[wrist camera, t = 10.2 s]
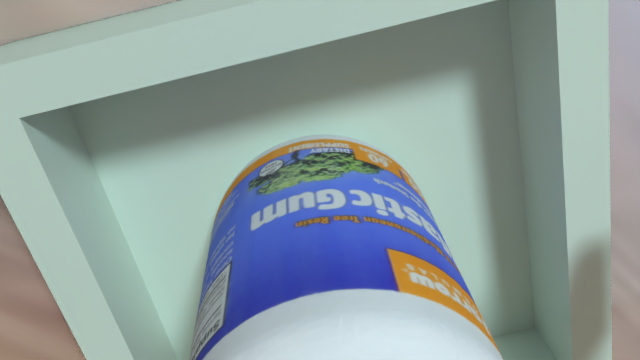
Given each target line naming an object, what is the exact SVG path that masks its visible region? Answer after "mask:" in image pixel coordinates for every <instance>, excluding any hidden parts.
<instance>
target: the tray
mask: <svg viewBox="0 0 640 360" xmlns="http://www.w3.org/2000/svg"><path fill="white" fill-rule="evenodd" d="M310 135H339V136H345V137H350V138H355V139H358V140H361V141H364V142H366V143H369V144H371V145H374V146H376V147H378V148H379V149H381V150H383V151H384V152H386V153H387V154H389V155H390V156H392V157H393V158H394V159H395V160H397V161H398V162H399V163H400V164H401V165H402V166H403V167H404V168H405V169H406V170H407V172H408V173H409V174H410V175H411V177H412V178H413V180H414V181H415V183H416V184H417V186H418V188H419V189H420V191H421V193H422V195H423V197H424V199H425V201H426V203H427V205H428V207H429V209H430V211H431V213H432V215H433V217H434V219H435V222H436V224H437V226H438V228H439V230H440V232H441V234H442V236H443V238H444V240H445V242H446V244H447V246H448V248H449V250H450V252H451V254H452V256H453V258H454V260H455V262H456V264H457V266H458V268H459V271H460V273H461V275H462V277H463V279H464V281H465V283H466V285H467V287H468V289H469V291H470V293H471V295H472V298H473V300H474V302H475V304H476V306H477V308H478V310H479V312H480V314H481V316H482V318H483V320H484V322H485V324H486V326H487V327H488V329H489V331H490V333H491V336H492V338H493V340H494V342H495V344H496V346H497V348H498V350H499V352H500V354H501V356H502V358H503V360H612V326H611V225H610V125H609V24H608V0H179V1H175V2H171V3H167V4H163V5H159V6H155V7H151V8H147V9H143V10H139V11H135V12H131V13H127V14H123V15H119V16H115V17H111V18H107V19H103V20H99V21H95V22H91V23H87V24H83V25H79V26H75V27H71V28H67V29H63V30H59V31H55V32H51V33H47V34H43V35H39V36H35V37H31V38H26V39H22V40H18V41H14V42H10V43H6V44H4V45H2V46H0V195H1V197H2V199H3V201H4V203H5V204H6V206H7V208H8V210H9V212H10V214H11V216H12V218H13V220H14V222H15V224H16V226H17V227H18V229H19V231H20V233H21V235H22V237H23V239H24V241H25V243H26V245H27V247H28V249H29V250H30V252H31V254H32V256H33V258H34V260H35V262H36V264H37V266H38V268H39V270H40V272H41V273H42V275H43V277H44V279H45V281H46V283H47V285H48V287H49V289H50V291H51V293H52V295H53V296H54V298H55V300H56V302H57V304H58V306H59V308H60V310H61V312H62V314H63V316H64V318H65V319H66V321H67V323H68V325H69V327H70V329H71V331H72V333H73V335H74V337H75V339H76V341H77V342H78V344H79V346H80V348H81V350H82V352H83V354H84V356H85V358H86V360H190V354H191V348H192V341H193V336H194V329H195V324H196V319H197V313H198V307H199V302H200V297H201V291H202V285H203V280H204V275H205V269H206V264H207V258H208V253H209V247H210V242H211V236H212V230H213V226H214V221H215V217H216V214H217V211H218V208H219V205H220V203H221V201H222V198H223V196H224V194H225V192H226V190H227V189H228V187H229V186H230V184H231V183H232V181H233V180H234V178H235V177H236V176H237V175H238V173H239V172H240V171H241V170H242V169H243V168H244V167H245V166H246V165H247V164H248V163H249V162H250V161H251V160H253V159H254V158H255V157H257V156H258V155H260V154H261V153H263V152H264V151H266V150H268V149H270V148H272V147H274V146H276V145H278V144H280V143H283V142H286V141H289V140H291V139H295V138H299V137H304V136H310Z"/></svg>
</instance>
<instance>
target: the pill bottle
mask: <svg viewBox="0 0 640 360" xmlns="http://www.w3.org/2000/svg"><path fill="white" fill-rule="evenodd" d="M190 360H503V358H502V356H501V354H500V352H499V350H498V348H497V346H496V344H495V342H494V340H493V338H492V336H491V333H490V331H489V329H488V327H487V326H486V324H485V322H484V320H483V318H482V316H481V314H480V312H479V310H478V308H477V306H476V304H475V302H474V300H473V298H472V295H471V293H470V291H469V289H468V287H467V285H466V283H465V281H464V279H463V277H462V275H461V273H460V271H459V268H458V266H457V264H456V262H455V260H454V258H453V256H452V254H451V252H450V250H449V248H448V246H447V244H446V242H445V240H444V238H443V236H442V234H441V232H440V230H439V228H438V226H437V224H436V222H435V219H434V217H433V215H432V213H431V211H430V209H429V207H428V205H427V203H426V201H425V199H424V197H423V195H422V193H421V191H420V189H419V188H418V186H417V184H416V183H415V181H414V180H413V178H412V177H411V175H410V174H409V173H408V172H407V170H406V169H405V168H404V167H403V166H402V165H401V164H400V163H399V162H398V161H397V160H395V159H394V158H393V157H392V156H390V155H389V154H387V153H386V152H384V151H383V150H381V149H379V148H378V147H376V146H374V145H371V144H369V143H366V142H364V141H361V140H358V139H355V138H350V137H345V136H339V135H310V136H304V137H299V138H295V139H291V140H289V141H286V142H283V143H280V144H278V145H276V146H274V147H272V148H270V149H268V150H266V151H264V152H263V153H261V154H260V155H258V156H257V157H255V158H254V159H253V160H251V161H250V162H249V163H248V164H247V165H246V166H245V167H244V168H243V169H242V170H241V171H240V172H239V173H238V175H237V176H236V177H235V178H234V180H233V181H232V183H231V184H230V186H229V187H228V189H227V190H226V192H225V194H224V196H223V198H222V201H221V203H220V205H219V208H218V211H217V214H216V217H215V221H214V226H213V230H212V236H211V242H210V247H209V253H208V258H207V264H206V269H205V275H204V280H203V285H202V291H201V297H200V302H199V307H198V313H197V319H196V324H195V329H194V336H193V341H192V348H191V354H190Z"/></svg>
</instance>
